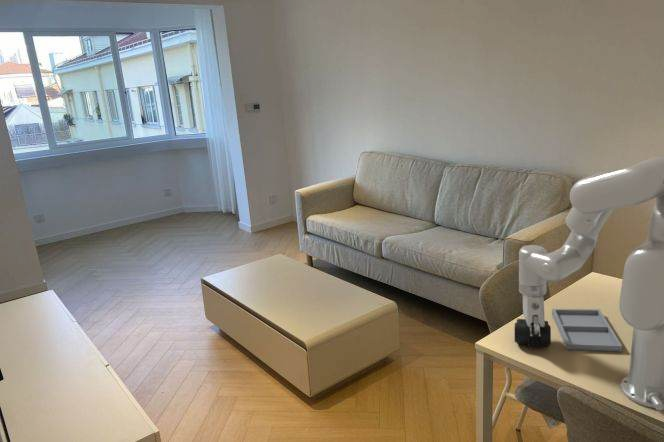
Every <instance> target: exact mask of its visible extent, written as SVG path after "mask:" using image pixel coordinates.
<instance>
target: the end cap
mask: <svg viewBox="0 0 664 442" xmlns="http://www.w3.org/2000/svg"><path fill="white" fill-rule="evenodd" d="M531 325H534V324H531ZM539 325H540V324H539ZM551 327H552V326H551V325H550V324H549V321H548V320H545V326H544V327H541V326H540V335H541V344H540V347H541V346H544V347H549V346H551V343H552V341H551V340H552V339H551V338H552V332H551V329H552V328H551ZM533 330H534V328H532V331H533ZM529 335H530V330H529V327H528V326H527V324H526V321H525V318H518V319H516V322H515V323H514V342H515V343H516V344H520V345H521V344H522V345H529Z"/></svg>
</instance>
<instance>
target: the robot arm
mask: <svg viewBox="0 0 664 442" xmlns="http://www.w3.org/2000/svg"><path fill="white" fill-rule="evenodd" d="M569 191H570V192H569V201H570V204H571V205H572V207H571V209H570V211H569V212H568V213H567V215H566V217H565V225H566V227H568V228H569V229H570V233H569V235H568V237H567V238H566V240H565V242H564V244H563V245H561V247H560V248H558V249H556V250H554V251H551V252H547V249H546V248H544V247H543V246H541V245H538V244H529V245H524V246H522V247H521V248H520V249H519V251H518V292H519V294H522V313H523V317H524V319H525V321H526V324H527V326H528V327H529V330H530V335H529V344H528V347H529V348H539V349H540V348H541V345H540V344H541V335H540V326H541V327H544V326H545V321H546V319H545V301H544V298H545V297H544V296H545V295H546V294H547V282H553V283H555V282H559V281H561V280H564V279H565V278H567V277H568V276H569V275H571V274H574V273H575V272H577V271H578V270H580V269H581V268H582V267H583V266H584V264H585V263H586V262H587V260H588V259H589V257H590V256H591V255H592V253H593V252H594V249H595V247H596V245H597V241H598V238H599V233H600V231H601V229H602V228H603V226H604V224H605V223H606V222H607V221H608V219H609V217H610V216H611V214H612V212H614V210H617V209H623V208H628V207H632V206H638V205H642V204H644V203H648V202H649V201H652V200H654V199H655V202H654V206H653V209H652V212H651V215H650V218H649V219H650V220H649V227H648V228H649V229H648V232H647V233H648V234H647V237H646V239H645V241H644V242H643V243H642V244H641V245H639V246H637V247H636V248H634V249H633V250H632V251H631V252H630V253H629V254H628V256H627V258H626V261H625V263H624V268H623V274H622V281H621V287H620V293H619V305H618V306H619V311H620V315H621V316H622V318H623V320H624V321H625V323H627V324H628V325H629V326H630V327H632V328H633V329H632V337H631V348H630V359H629V370H628V375H627V376H624V378H623V379H622V380H621V383H620V390H621V392H622V393H623V394H624V395H625V397H626V398H628V399H630V400H631V401H633V402H635V403H637V404H639V405H641V406H644V407H647V408H653V409H655V410H657V411H662V410H664V156H656V157H655V156H654V157H650V158H647V159H644V160H642V161H640V162H638V163H635V164H632V165H630V166H628V167H624V168H620V169H617V170H613V171H612V172H610V171H601V172H597V173H594V174H591V175H589V176H585V177H583V178H581V179H580V180H578V181H576V182H575V183H574V184H573V186H572V187H571V189H570V190H569ZM531 324H534V325H531ZM539 324H540V325H539ZM532 328H534V330H533V331H532Z"/></svg>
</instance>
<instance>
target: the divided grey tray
mask: <svg viewBox="0 0 664 442" xmlns="http://www.w3.org/2000/svg"><path fill="white" fill-rule="evenodd" d="M551 315H552V318H553V319H554V322H555V325H556V327H557V329H558V332H559V334H560V337H561V339H562V341H563V344H564V346H565V349H566V350H567V351H571V352H572V351H575V352H578V351H579V352H605V353H606V352H607V353H608V352H609V353H613V352H615V353H622V352H623V345H622V343H621V341H620V340H619V338H618V337H617V334H616V333H615V332H614V330H613V328H612V327H611V325H610V323H609V322H608V320H607V319H606V317H605V315H604V313H603V312H602V311H601V309H596V308H588V309H587V308H586V309H585V308H552V309H551Z"/></svg>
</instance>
